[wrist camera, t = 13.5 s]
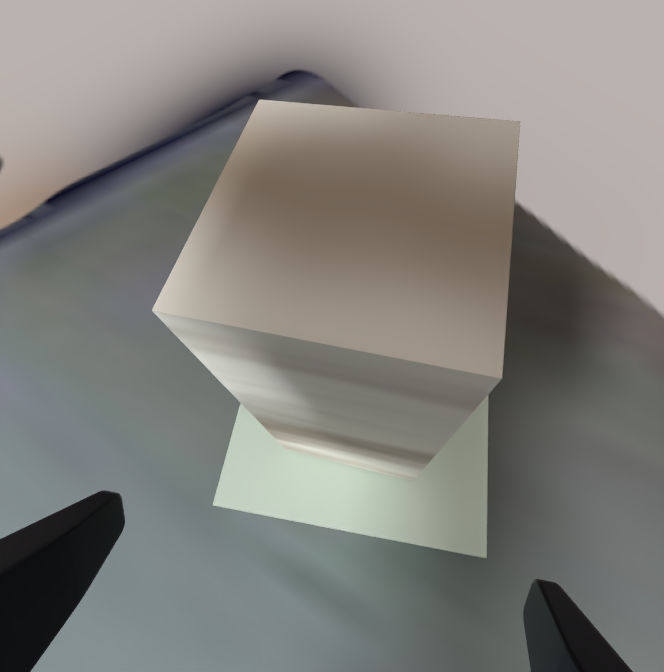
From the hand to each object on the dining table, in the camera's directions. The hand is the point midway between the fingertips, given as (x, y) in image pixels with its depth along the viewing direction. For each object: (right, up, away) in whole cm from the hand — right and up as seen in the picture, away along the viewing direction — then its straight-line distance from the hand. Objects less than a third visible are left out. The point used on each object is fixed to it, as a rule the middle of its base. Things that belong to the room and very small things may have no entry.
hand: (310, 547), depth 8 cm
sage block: (+2, 0, +15) cm, 15 cm away
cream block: (+2, +1, +11) cm, 11 cm away
